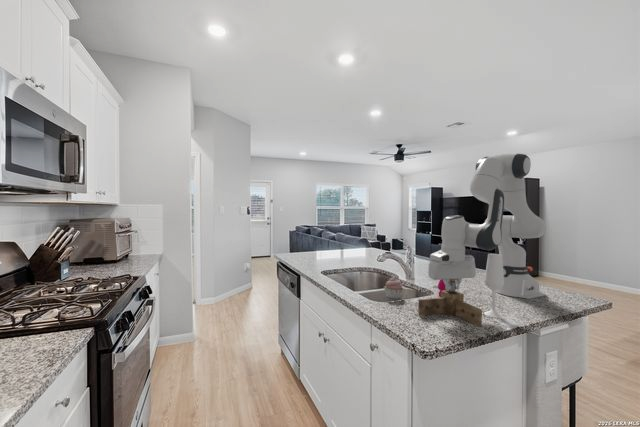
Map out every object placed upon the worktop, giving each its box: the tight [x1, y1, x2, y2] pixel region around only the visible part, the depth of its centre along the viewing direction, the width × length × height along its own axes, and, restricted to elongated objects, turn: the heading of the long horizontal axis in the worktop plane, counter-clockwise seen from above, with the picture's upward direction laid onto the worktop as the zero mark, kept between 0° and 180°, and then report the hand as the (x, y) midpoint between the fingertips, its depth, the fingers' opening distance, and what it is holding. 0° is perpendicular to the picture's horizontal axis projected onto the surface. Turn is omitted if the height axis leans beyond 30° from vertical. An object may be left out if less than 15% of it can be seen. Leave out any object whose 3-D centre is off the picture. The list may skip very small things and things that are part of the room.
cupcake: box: [383, 276, 405, 301], centre depth 136 cm, size 9×9×10 cm
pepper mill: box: [437, 279, 449, 298], centre depth 140 cm, size 7×7×20 cm
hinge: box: [417, 290, 483, 327], centre depth 111 cm, size 18×18×8 cm
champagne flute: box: [483, 253, 504, 319], centre depth 116 cm, size 7×7×24 cm
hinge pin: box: [449, 279, 457, 294], centre depth 118 cm, size 3×3×8 cm
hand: (452, 289), depth 118 cm, fingers closed on hinge pin, 2 cm apart
